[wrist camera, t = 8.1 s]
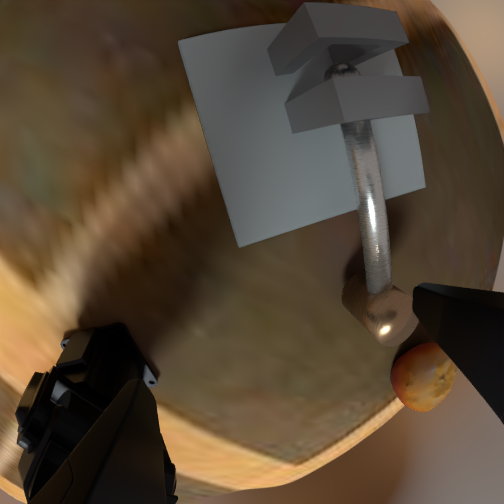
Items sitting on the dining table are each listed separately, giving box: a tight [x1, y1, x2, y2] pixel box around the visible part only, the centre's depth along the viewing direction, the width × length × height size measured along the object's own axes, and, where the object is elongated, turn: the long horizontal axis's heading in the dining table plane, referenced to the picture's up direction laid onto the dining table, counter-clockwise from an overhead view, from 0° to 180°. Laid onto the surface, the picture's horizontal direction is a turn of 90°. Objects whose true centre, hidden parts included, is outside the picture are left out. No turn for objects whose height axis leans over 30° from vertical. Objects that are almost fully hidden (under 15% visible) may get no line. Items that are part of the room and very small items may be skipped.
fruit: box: [390, 342, 457, 412], centre depth 25 cm, size 8×8×8 cm
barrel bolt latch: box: [178, 2, 430, 248], centre depth 14 cm, size 14×16×8 cm
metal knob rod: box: [324, 62, 419, 347], centre depth 16 cm, size 18×4×5 cm, turn 16°
